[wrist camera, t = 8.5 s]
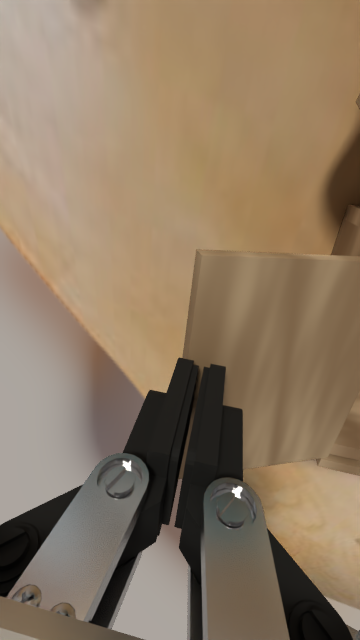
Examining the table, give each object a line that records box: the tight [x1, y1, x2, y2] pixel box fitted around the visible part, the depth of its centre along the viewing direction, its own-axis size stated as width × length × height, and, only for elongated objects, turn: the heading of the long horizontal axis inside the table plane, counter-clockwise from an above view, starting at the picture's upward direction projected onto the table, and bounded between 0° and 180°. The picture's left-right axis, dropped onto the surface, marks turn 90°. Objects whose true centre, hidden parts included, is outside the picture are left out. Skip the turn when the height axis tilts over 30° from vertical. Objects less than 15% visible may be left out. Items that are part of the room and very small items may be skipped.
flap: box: [178, 249, 360, 479], centre depth 12 cm, size 1×10×8 cm
